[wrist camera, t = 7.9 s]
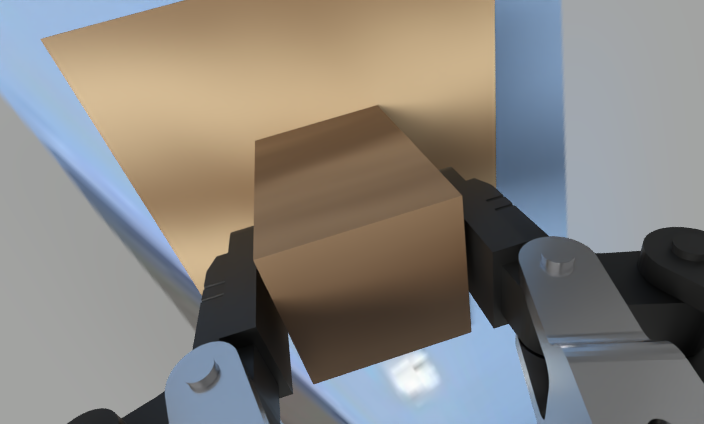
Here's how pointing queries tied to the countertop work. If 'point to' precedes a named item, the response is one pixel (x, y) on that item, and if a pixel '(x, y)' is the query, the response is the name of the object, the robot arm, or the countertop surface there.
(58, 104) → the countertop surface
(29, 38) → the countertop surface
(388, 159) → the oak lid
